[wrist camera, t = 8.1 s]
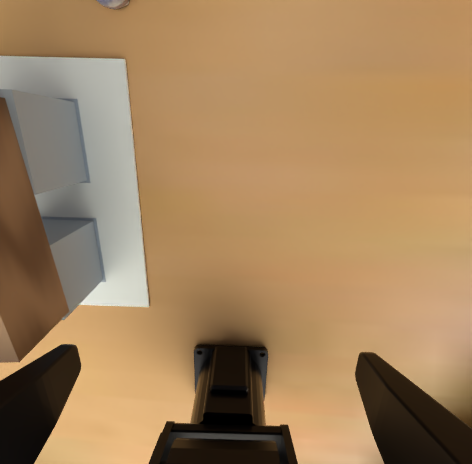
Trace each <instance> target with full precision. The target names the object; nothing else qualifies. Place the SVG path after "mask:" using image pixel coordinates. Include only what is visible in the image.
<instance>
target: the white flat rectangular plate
mask: <svg viewBox="0 0 472 464" xmlns="http://www.w3.org/2000/svg"><path fill="white" fill-rule="evenodd" d="M0 89H12V90H17V91H22V92H27V93H32V94H37V95H42V96H46V97H51V98H56V99H61V100H66V101H71V102H74V103H75V109H76V116H77V122H78V128H79V134H80V140H81V147H82V153H83V159H84V165H85V172H86V178H87V180H86V181H82V182H79V183H75V184H72V185H68V186H65V187H61V188H58V189H54V190H51V191H47V192H44V193H40V194H37V195H34V196H35V199H36V202H37V206H38V209H39V212H40V216H41V219H52V220H84V221H93V222H94V228H95V234H96V240H97V247H98V253H99V259H100V265H101V272H102V278H103V280H102V281H101V282H100V283H99V284H98V285H97V287H96V288H95V289H94V290H93V291H92V292H91V293H90V294H89V295H88V296H87V297H86V298H85V299H84V300H83V301H82V302H81V303H80V304H79V305H102V306H131V307H149V306H150V304H149V294H148V284H147V273H146V263H145V253H144V242H143V232H142V222H141V211H140V201H139V191H138V181H137V170H136V160H135V150H134V139H133V129H132V119H131V109H130V98H129V88H128V78H127V67H126V60H125V59H110V58H70V57H29V56H0Z"/></svg>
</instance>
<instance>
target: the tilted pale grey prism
mask: <svg viewBox="0 0 472 464" xmlns="http://www.w3.org/2000/svg"><path fill="white" fill-rule="evenodd" d="M0 97H2V98H5V100H6V103H7V107H8V110H9V113H10V116H11V120H12V123H13V126H14V130H15V133H16V136H17V140H18V143H19V146H20V150H21V153H22V156H23V159H24V163H25V166H26V169H27V173H28V176H29V179H30V183H31V186H32V189H33V192H34V195H37V194H40V193H44V192H47V191H51V190H54V189H58V188H61V187H65V186H68V185H72V184H75V183H79V182H82V181H86V180H87V178H86V172H85V165H84V159H83V153H82V147H81V140H80V134H79V128H78V122H77V116H76V109H75V103H74V102H71V101H66V100H61V99H56V98H51V97H46V96H42V95H37V94H32V93H27V92H22V91H17V90H12V89H0Z"/></svg>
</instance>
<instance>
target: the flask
mask: <svg viewBox="0 0 472 464" xmlns="http://www.w3.org/2000/svg"><path fill="white" fill-rule="evenodd" d="M97 1H98V2H99V3H100V4H101V5H103V6H104V7H107V8H110V9H120V8H121V7H124V6H126V5H128V4H129V0H97Z"/></svg>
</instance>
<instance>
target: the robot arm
mask: <svg viewBox="0 0 472 464" xmlns="http://www.w3.org/2000/svg"><path fill="white" fill-rule="evenodd" d="M198 350H201V351H198ZM262 352H263V354H261V353H262ZM267 362H268V350H267V349H266V348H265V347H251V346H224V345H197V346H196V347H195V350H194V367H195V400H194V406H193V411H192V417H191V423H175V422H172V421H167V422H166V424H165V427H164V429H163V432H162V433H161V434H160V436H159V439H158V441H157V444H156V446H155V449H154V451H153V454H152V456H151V459H150V461H149V464H298V463H297V459H296V455H295V451H294V447H293V443H292V439H291V435H290V431H289V427H288V425H280V426H266V423H265V410H264V398H265V386H266V374H267ZM80 370H81V362H80V357H79V353H78V349H77V346H76V345H72V344H63V345H60V346H58V347H57V348H55V349H53V350H51V351H50V352H48V353H46V354H45V355H43V356H41V357H40V358H38V359H36V360H35V361H33V362H31V363H30V364H28V365H26V366H25V367H23V368H21V369H20V370H18V371H16V372H15V373H13V374H11V375H9V376H8V377H6V378H4V379H3V380H1V381H0V464H34V462H35V461H36V459H37V457H38V455H39V454H40V452H41V450H42V448H43V447H44V445H45V443H46V441H47V439H48V438H49V436H50V434H51V432H52V430H53V429H54V427H55V425H56V423H57V421H58V419H59V417H60V415H61V413H62V410H63V408H64V406H65V404H66V402H67V399H68V397H69V395H70V393H71V391H72V388H73V386H74V384H75V382H76V380H77V377H78V375H79V373H80ZM355 377H356V382H357V385H358V388H359V392H360V395H361V398H362V401H363V405H364V408H365V411H366V415H367V418H368V421H369V425H370V428H371V431H372V434H373V436H374V439H375V442H376V444H377V447H378V449H379V451H380V454H381V456H382V459H383V461H384V464H472V428H470V427H469V426H468V425H467V424H465V423H464V422H463V421H461V420H460V419H459V418H458V417H456V416H455V415H454V414H452V413H451V412H450V411H449V410H447V409H446V408H445V407H443V406H442V405H441V404H440V403H438V402H437V401H436V400H434V399H433V398H432V397H431V396H429V395H428V394H427V393H425V392H424V391H423V390H422V389H420V388H419V387H418V386H416V385H415V384H414V383H413V382H411V381H410V380H409V379H407V378H406V377H405V376H404V375H402V374H401V373H400V372H398V371H397V370H396V369H395V368H393V367H392V366H391V365H389V364H388V363H387V362H386V361H384V360H383V359H382V358H380V357H379V356H378V355H377V354H375V353H372V352H361V353H360V354H359V357H358V361H357V366H356V371H355Z"/></svg>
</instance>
